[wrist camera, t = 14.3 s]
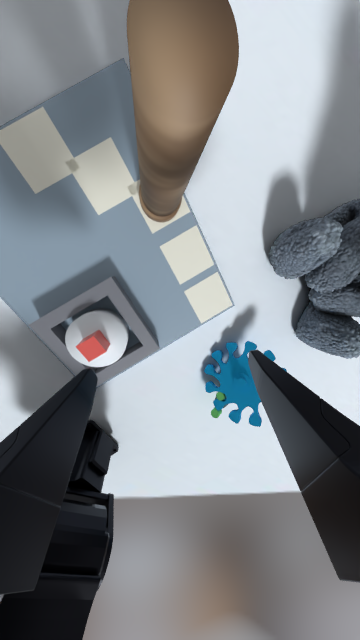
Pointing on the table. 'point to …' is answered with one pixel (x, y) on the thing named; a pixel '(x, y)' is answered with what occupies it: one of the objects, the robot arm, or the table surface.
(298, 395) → the robot arm
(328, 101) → the table surface
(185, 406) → the table surface
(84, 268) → the board
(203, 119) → the brown wooden cylinder
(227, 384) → the blue spiky piece
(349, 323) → the koala plush
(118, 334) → the dome button
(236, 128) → the table surface
